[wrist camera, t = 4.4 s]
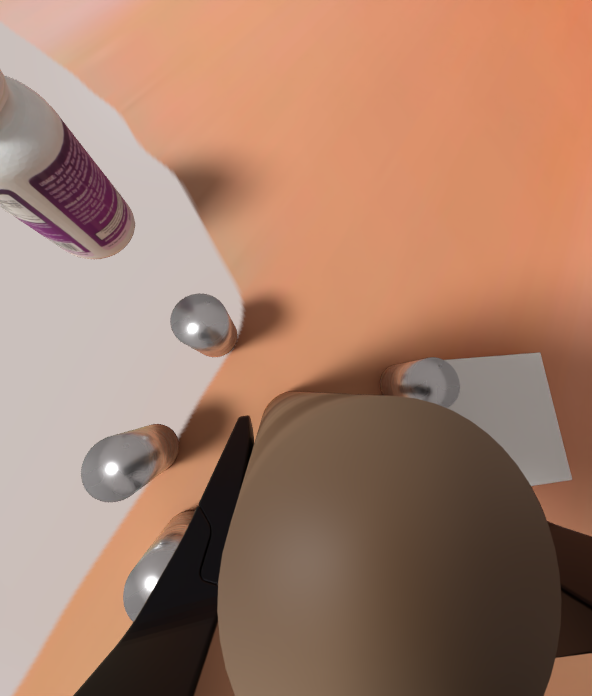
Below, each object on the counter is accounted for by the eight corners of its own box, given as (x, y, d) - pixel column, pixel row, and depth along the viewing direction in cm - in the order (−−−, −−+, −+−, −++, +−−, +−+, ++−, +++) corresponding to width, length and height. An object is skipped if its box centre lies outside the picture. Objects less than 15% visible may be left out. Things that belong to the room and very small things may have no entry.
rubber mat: (555, 475, 18) (572, 479, 17) (443, 491, 17) (453, 497, 16) (526, 354, 20) (540, 352, 19) (421, 362, 18) (430, 361, 18)
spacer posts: (442, 524, 17) (495, 565, 13) (126, 575, 14) (71, 645, 10) (405, 306, 19) (440, 284, 15) (132, 319, 17) (90, 297, 13)
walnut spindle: (328, 454, 17) (601, 753, 3) (263, 462, 16) (225, 868, 2) (321, 388, 17) (517, 383, 4) (259, 394, 17) (212, 412, 3)
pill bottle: (119, 185, 18) (-39, -31, 9) (150, 243, 18) (16, 78, 8) (44, 212, 18) (-220, 3, 8) (75, 274, 17) (-170, 128, 8)
